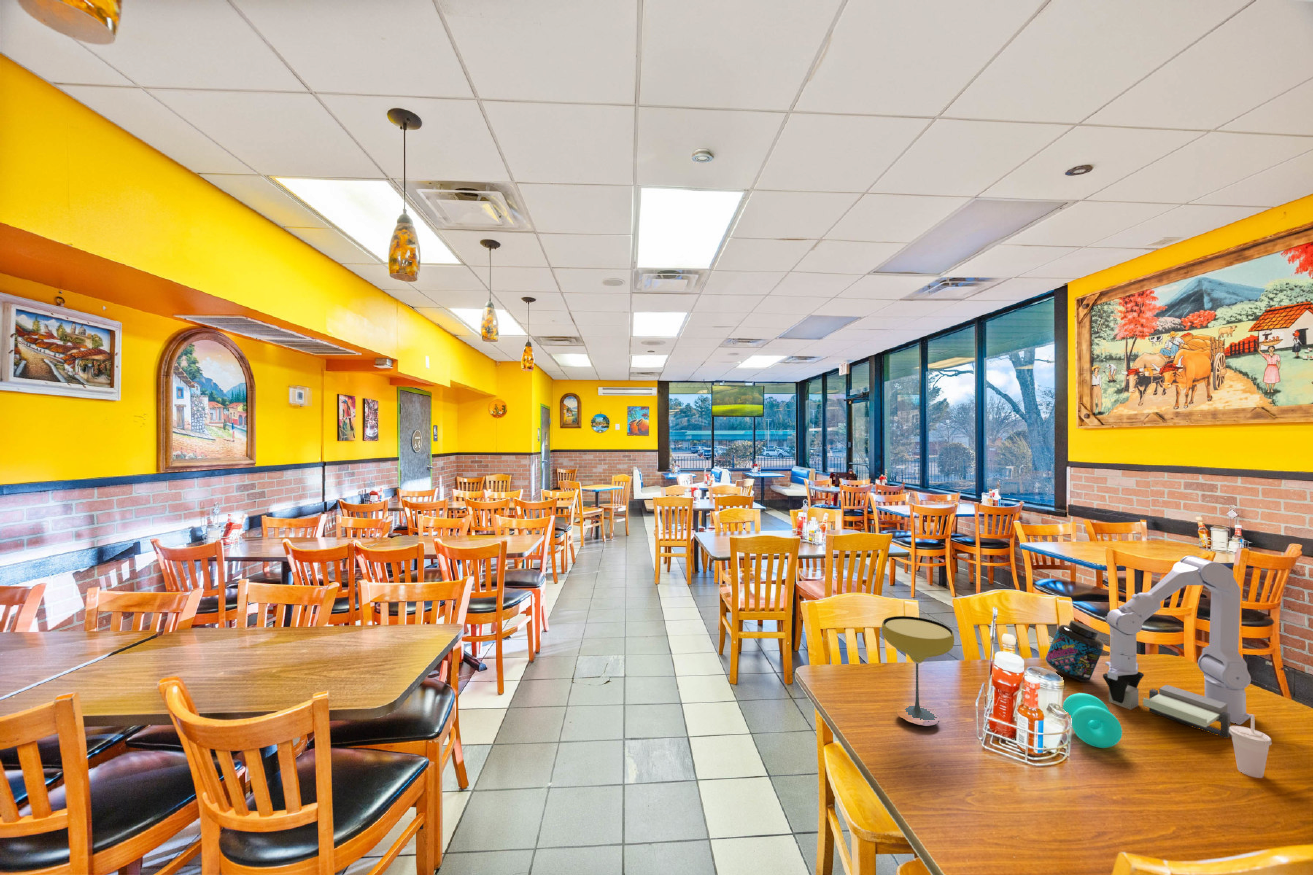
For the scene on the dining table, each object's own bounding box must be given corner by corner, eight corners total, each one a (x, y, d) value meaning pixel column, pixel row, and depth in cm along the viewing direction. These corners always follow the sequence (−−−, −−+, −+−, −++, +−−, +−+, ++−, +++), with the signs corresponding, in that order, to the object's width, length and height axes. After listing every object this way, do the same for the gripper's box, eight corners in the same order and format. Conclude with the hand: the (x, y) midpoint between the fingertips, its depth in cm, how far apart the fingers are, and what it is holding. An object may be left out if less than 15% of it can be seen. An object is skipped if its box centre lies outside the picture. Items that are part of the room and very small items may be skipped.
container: (1084, 674, 168) (1104, 629, 165) (1091, 689, 157) (1113, 642, 155) (1041, 655, 174) (1060, 612, 171) (1046, 668, 163) (1065, 623, 161)
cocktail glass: (883, 725, 136) (883, 633, 136) (880, 694, 153) (880, 612, 153) (960, 740, 129) (959, 643, 130) (948, 706, 146) (948, 620, 146)
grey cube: (1116, 697, 151) (1116, 681, 151) (1138, 705, 147) (1138, 688, 147) (1108, 701, 149) (1108, 684, 149) (1130, 709, 144) (1130, 692, 145)
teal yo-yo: (1108, 733, 133) (1108, 695, 133) (1124, 754, 124) (1124, 714, 124) (1061, 724, 137) (1061, 687, 137) (1073, 744, 128) (1073, 705, 128)
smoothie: (1281, 786, 112) (1280, 723, 112) (1246, 782, 114) (1246, 720, 114) (1253, 767, 119) (1253, 708, 119) (1221, 764, 120) (1220, 705, 120)
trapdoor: (1166, 697, 145) (1166, 684, 145) (1227, 717, 135) (1227, 703, 135) (1143, 710, 138) (1143, 697, 138) (1205, 732, 127) (1205, 718, 127)
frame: (1152, 709, 145) (1152, 688, 145) (1230, 736, 131) (1230, 713, 131) (1149, 711, 143) (1149, 690, 144) (1227, 739, 130) (1227, 716, 130)
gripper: (1117, 642, 155) (1117, 686, 155) (1094, 651, 148) (1094, 697, 148) (1147, 651, 149) (1147, 697, 149) (1125, 661, 142) (1125, 709, 142)
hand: (1123, 698), depth 148 cm, fingers open, 7 cm apart
